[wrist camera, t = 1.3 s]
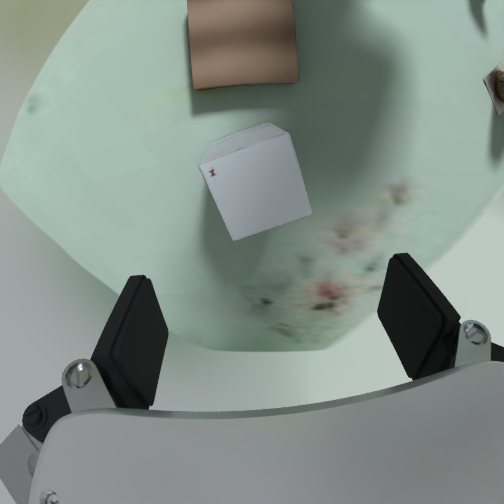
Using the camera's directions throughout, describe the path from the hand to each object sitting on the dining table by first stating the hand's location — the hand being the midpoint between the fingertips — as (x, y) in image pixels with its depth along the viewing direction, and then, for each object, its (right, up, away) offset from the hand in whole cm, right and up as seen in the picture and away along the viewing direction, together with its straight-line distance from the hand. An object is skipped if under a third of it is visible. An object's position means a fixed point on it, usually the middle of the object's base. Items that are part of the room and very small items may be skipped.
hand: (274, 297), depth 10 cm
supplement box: (-1, +13, +22) cm, 25 cm away
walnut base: (-2, +26, +14) cm, 29 cm away
